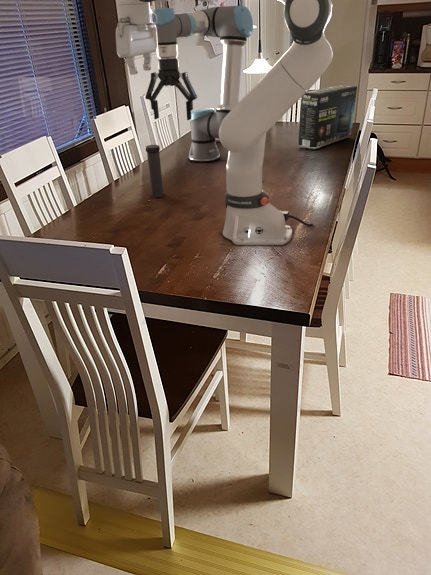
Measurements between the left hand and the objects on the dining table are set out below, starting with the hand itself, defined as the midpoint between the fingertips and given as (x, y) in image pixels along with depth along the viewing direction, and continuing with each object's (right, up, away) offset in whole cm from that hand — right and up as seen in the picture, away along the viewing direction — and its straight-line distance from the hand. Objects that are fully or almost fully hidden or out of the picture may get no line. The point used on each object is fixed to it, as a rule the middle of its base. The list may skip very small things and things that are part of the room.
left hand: (172, 119), depth 177 cm
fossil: (+23, +16, +78) cm, 83 cm away
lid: (-7, -12, -4) cm, 15 cm away
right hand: (-5, -3, -44) cm, 45 cm away
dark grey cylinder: (-7, -28, +6) cm, 30 cm away
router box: (+75, +12, +67) cm, 102 cm away
